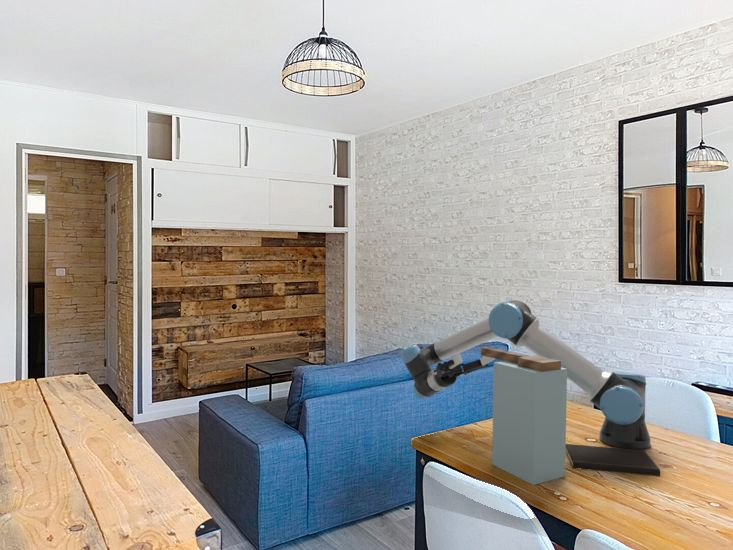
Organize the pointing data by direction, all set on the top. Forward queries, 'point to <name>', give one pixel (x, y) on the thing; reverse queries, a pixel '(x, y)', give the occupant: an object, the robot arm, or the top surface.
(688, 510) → the top surface
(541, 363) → the brown tapered block
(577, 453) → the hardcover book
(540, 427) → the stand
